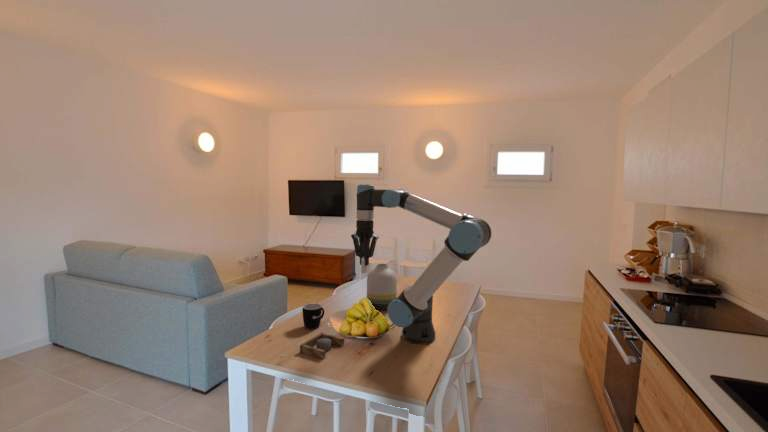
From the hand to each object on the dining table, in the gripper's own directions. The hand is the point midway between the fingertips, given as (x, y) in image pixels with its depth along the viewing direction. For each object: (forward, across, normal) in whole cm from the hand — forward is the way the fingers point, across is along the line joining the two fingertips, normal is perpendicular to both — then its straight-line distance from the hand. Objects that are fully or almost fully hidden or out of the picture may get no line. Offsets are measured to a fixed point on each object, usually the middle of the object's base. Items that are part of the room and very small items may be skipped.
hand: (364, 272), depth 159 cm
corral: (+29, +8, +19) cm, 36 cm away
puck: (+30, +8, +19) cm, 36 cm away
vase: (+30, +12, -40) cm, 51 cm away
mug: (+30, +26, +1) cm, 40 cm away
